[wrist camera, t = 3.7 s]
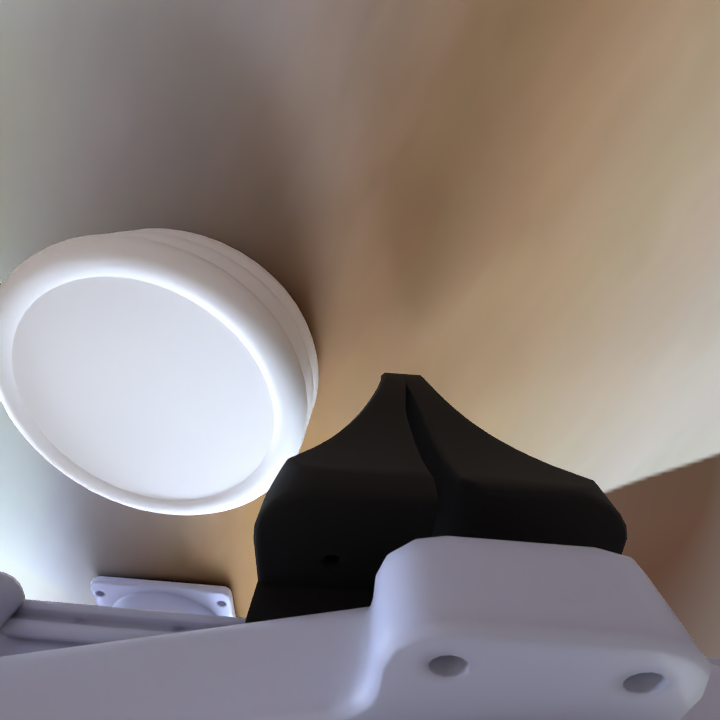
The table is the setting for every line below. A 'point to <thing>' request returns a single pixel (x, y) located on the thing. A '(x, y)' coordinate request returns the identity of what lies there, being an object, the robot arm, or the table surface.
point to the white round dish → (156, 368)
